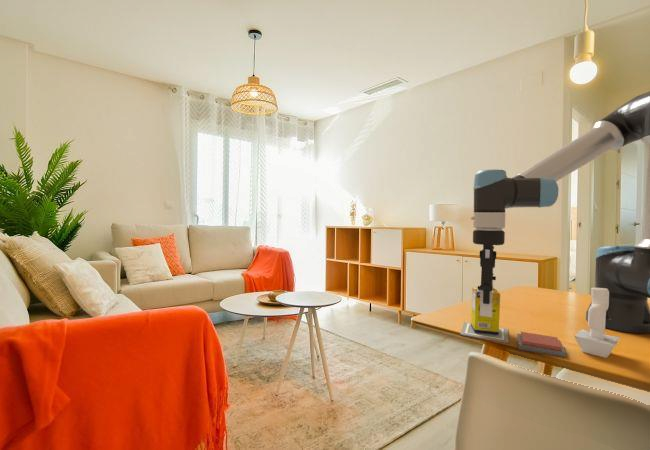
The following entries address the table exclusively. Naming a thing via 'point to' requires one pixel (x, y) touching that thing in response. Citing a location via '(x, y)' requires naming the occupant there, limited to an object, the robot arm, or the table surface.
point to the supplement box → (482, 322)
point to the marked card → (469, 331)
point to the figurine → (597, 326)
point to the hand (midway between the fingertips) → (486, 309)
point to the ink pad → (540, 344)
